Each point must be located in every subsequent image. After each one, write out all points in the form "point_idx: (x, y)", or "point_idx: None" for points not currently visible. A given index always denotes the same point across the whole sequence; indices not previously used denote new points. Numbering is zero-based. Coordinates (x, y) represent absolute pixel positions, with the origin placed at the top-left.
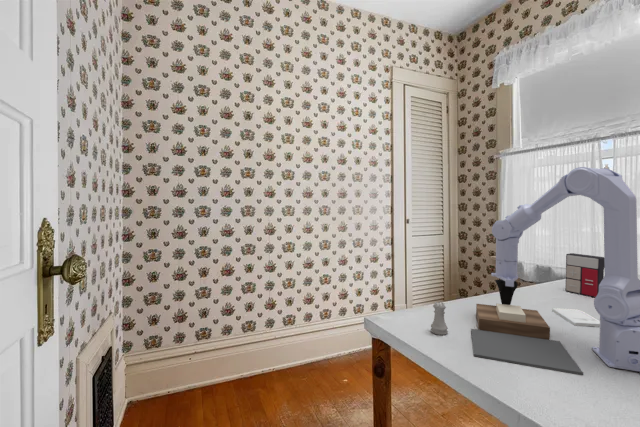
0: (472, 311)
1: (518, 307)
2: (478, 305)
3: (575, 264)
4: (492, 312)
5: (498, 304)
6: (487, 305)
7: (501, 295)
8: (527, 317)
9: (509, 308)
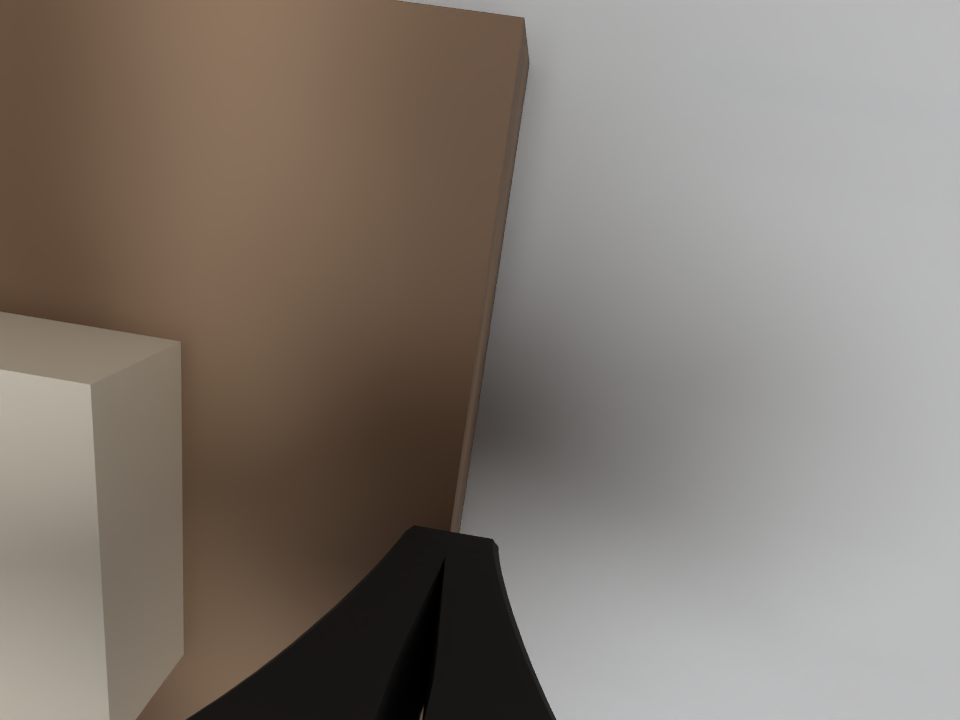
0: (703, 27)
1: (6, 699)
2: (383, 42)
3: None
4: (6, 236)
5: (32, 410)
6: (444, 251)
7: (303, 645)
8: None
9: None
